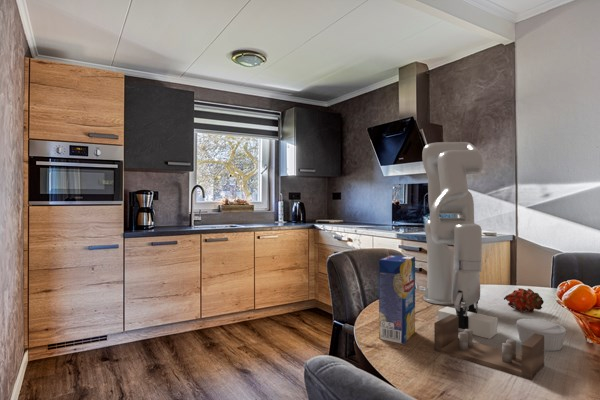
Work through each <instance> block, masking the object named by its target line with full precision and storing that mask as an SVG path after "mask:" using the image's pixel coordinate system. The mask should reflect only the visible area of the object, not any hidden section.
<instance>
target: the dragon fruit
mask: <svg viewBox="0 0 600 400" xmlns="http://www.w3.org/2000/svg"><path fill="white" fill-rule="evenodd" d="M503 300H506V301H507V302H508V303H507V306H509V307H510V308H512V309H516V310H517V311H520V312H521V313H524V312H529V313H534V310H537V311H539V310H541V309H543V306H542V305H543V304H544V302H545V301H544V300H543V297H541V295H540V294H539V293H538V292H534V291H533V290H532V289H531V288H527V290H526V289H524V288H517V290H513V291H512V292H511V293H509V294H507V295H505V296H504V297H503Z"/></svg>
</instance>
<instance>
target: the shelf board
mask: <svg viewBox="0 0 600 400" xmlns="http://www.w3.org/2000/svg"><path fill="white" fill-rule="evenodd" d="M449 315H456V316H457V314H456V309H455V307H450V306H444V307H443V308H440V309H438V310H437V321H439V320H441V319H443V318H445V317H447V316H449ZM467 316H468V329H470V330H472V331H473V335H474V336H476V337H477V336H478V337H481V338H485V339H489V340H490V339H492V338H493V337H494V336H496V335H497V334H498V317H496V316H492V315H486V314H482V313H479V312H477V313H474V312H469V311H468V312H467ZM459 332H464V329H460V328H459Z"/></svg>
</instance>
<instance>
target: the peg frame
mask: <svg viewBox="0 0 600 400" xmlns="http://www.w3.org/2000/svg"><path fill="white" fill-rule="evenodd" d="M433 328H434V335H433V336H434V339H433V340H434V342H433V345H434V346H433V348H434V349H433V350H434V351H436V352H440V353H443V354H446V355H449V356H453V357H456V358H459V359H463V360H466V361H469V362H473V363H475V364H480V365H481V366H482V365H483V366H486V367H489V368H492V369H496V370H499V371H503V372H506V373H509V374H512V375H516V376H518V377H522V378H524V379H527V380H531V381H532V380H534V378H535V377H536V376H537V375H538V373H540V371H541V370H542V368H543V367H545V351H544V335H540V334H536V333H534V334H533V335H532V336H531V337H530V338H529V339H528V340H526V341H525V342H524V343H522V344H521V354H520V353H517V341H516V340H514V339H506V341H505V342H502V343H501V349H500V348H497V347H492V346H489V345H486V344H482V343H478V342H475V341H473V340H474V339H473V331H472V330H470V329H464V332H462V331H459V316H456V315H449V316H447V317H445V318H443V319H441V320H439V321H438V320H437V321H435V322H434V327H433Z"/></svg>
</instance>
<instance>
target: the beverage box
mask: <svg viewBox="0 0 600 400" xmlns="http://www.w3.org/2000/svg"><path fill="white" fill-rule="evenodd" d="M415 332H416V256H411V255H408V256H407V255H399V254H397V255H396V254H391V255H388V256H385V257H382V258H381V259H378V334H379V335H378V339H380V340H384V341H387V342H388V341H389V342H392V343H393V342H394V343H397V344H402V345H404V344H405V343H406V342H407V341H408V340H409V339H410V338H411V337H412V335H414V334H415Z"/></svg>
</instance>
